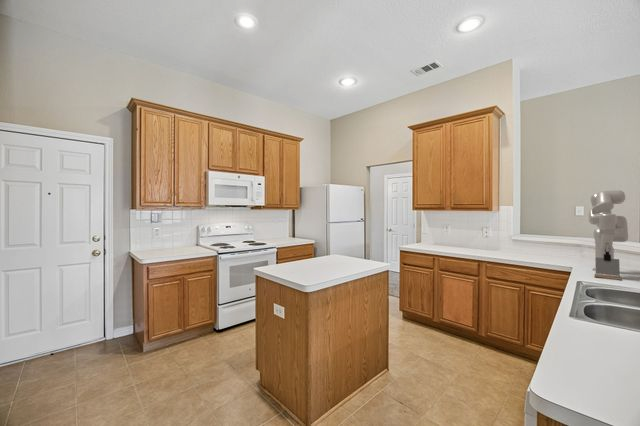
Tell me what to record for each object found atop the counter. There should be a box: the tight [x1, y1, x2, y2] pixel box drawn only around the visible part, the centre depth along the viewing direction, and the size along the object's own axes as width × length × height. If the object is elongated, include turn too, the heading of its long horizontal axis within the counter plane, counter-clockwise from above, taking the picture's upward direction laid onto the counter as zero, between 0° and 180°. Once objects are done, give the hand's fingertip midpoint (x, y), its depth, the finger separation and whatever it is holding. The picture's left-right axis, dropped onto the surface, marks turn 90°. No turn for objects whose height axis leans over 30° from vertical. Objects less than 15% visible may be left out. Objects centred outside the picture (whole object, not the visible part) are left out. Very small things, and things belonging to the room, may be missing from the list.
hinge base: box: [594, 273, 623, 282], centre depth 181 cm, size 13×12×2 cm
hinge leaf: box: [595, 257, 621, 277], centre depth 186 cm, size 13×11×2 cm
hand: (607, 260), depth 186 cm, fingers closed
